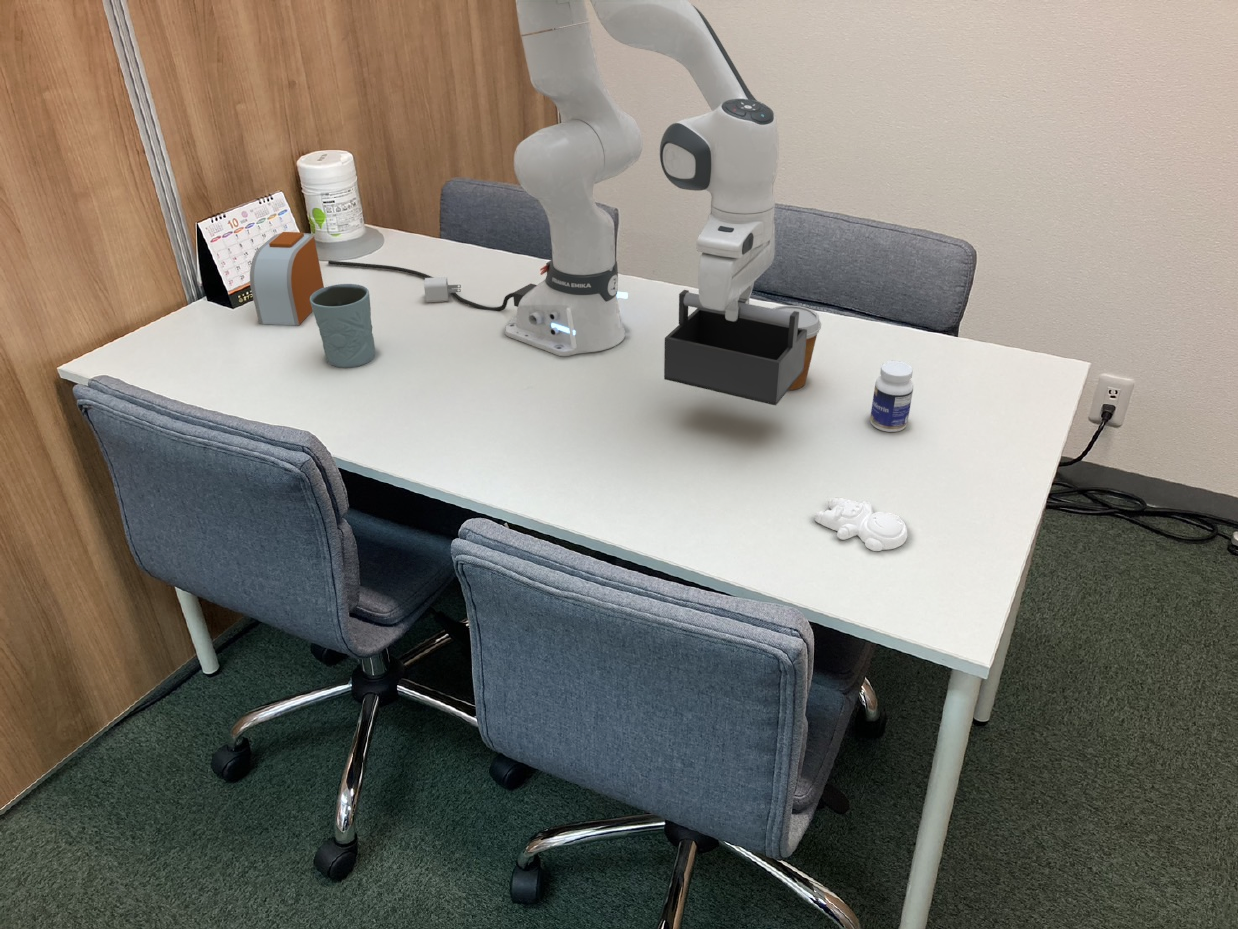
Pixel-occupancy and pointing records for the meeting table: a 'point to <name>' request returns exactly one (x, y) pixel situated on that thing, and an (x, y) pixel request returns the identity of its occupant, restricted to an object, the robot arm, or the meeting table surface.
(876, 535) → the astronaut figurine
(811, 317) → the disposable coffee cup
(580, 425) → the meeting table surface
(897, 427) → the pill bottle
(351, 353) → the green embossed cup
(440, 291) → the usb wall charger
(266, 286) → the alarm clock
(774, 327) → the black bin
